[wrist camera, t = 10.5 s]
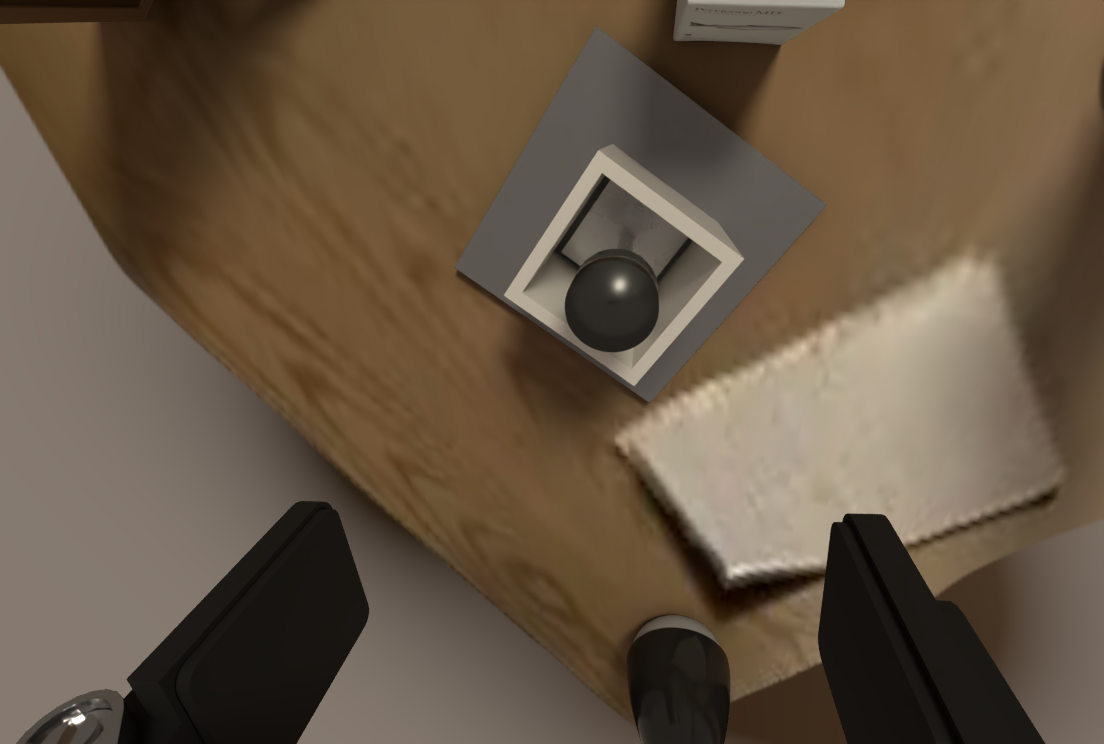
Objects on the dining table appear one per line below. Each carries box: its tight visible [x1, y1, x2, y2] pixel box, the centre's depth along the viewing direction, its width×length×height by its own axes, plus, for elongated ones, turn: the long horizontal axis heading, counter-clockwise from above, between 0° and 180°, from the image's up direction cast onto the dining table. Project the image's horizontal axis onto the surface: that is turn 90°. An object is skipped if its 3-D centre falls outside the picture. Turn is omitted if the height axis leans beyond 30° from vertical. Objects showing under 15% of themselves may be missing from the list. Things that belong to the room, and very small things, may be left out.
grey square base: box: [455, 26, 827, 403], centre depth 36 cm, size 20×20×13 cm
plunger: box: [561, 180, 688, 352], centre depth 33 cm, size 7×7×17 cm
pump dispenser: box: [627, 615, 730, 744], centre depth 52 cm, size 10×10×15 cm
